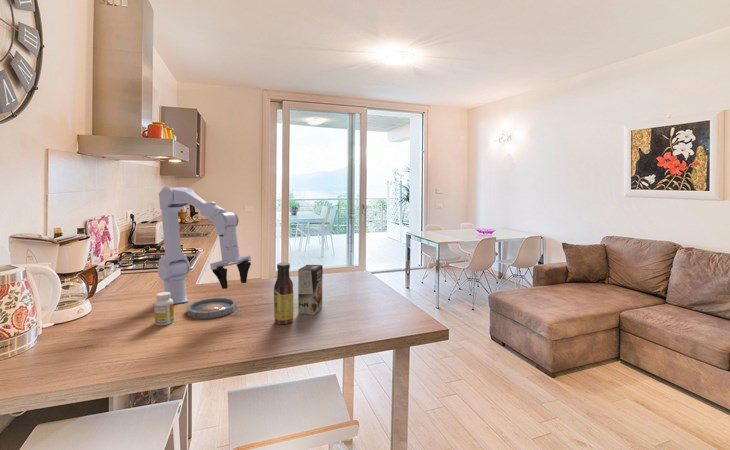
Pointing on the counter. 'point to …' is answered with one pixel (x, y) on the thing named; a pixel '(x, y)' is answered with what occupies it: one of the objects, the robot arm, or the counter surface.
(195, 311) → the round tray
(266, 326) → the counter surface
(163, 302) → the supplement bottle
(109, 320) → the counter surface
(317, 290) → the coffee box
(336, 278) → the counter surface
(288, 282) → the sauce bottle
